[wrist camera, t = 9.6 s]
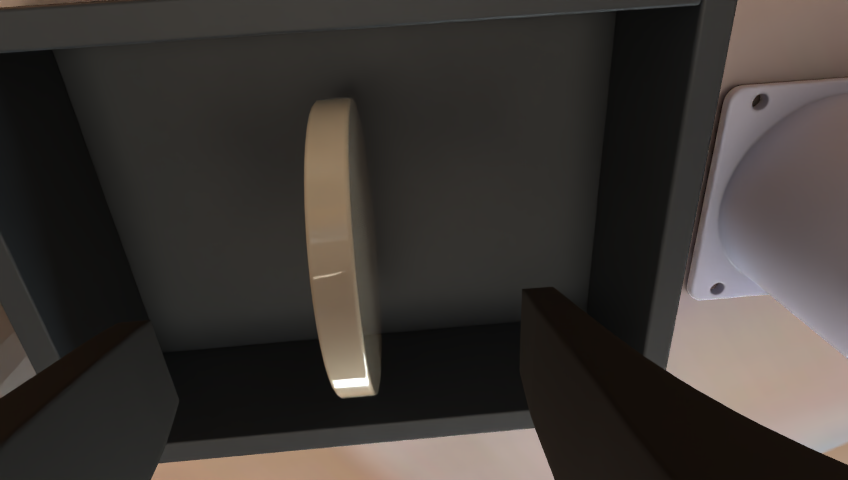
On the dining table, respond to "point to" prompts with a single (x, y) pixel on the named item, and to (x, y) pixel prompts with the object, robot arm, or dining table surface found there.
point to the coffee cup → (12, 358)
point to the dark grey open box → (390, 185)
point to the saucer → (342, 248)
